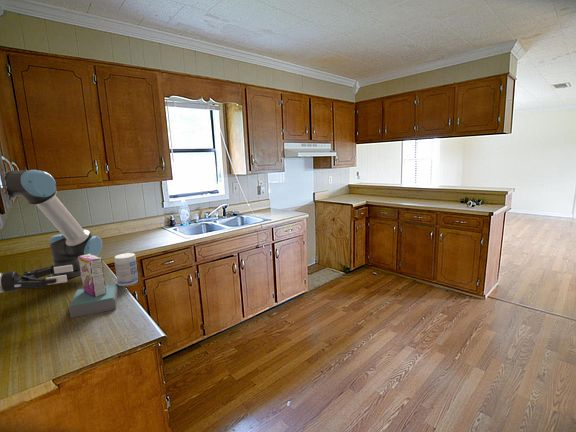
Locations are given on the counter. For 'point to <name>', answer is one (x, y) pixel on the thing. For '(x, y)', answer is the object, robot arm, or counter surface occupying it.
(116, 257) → the supplement tub
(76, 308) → the block
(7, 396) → the counter surface
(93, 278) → the candy bar box
